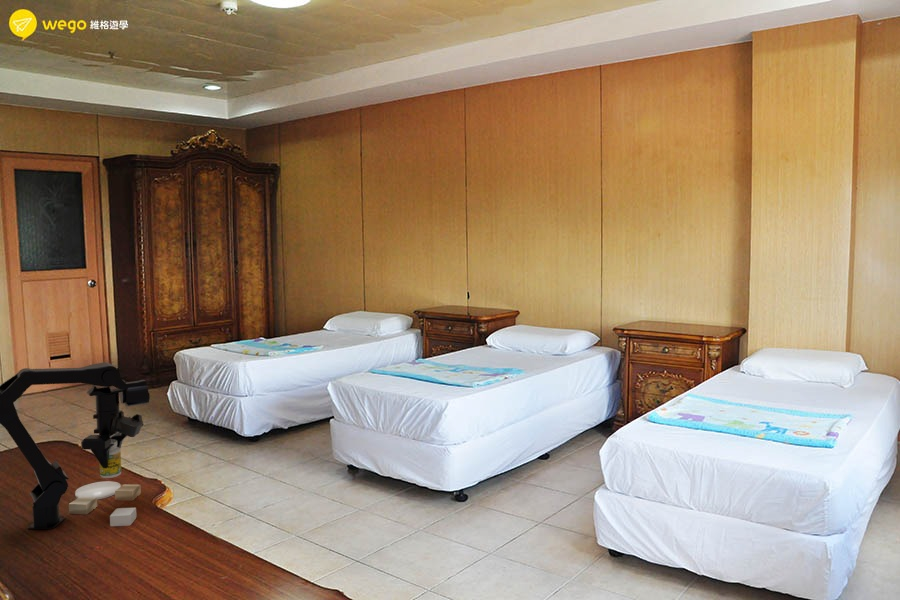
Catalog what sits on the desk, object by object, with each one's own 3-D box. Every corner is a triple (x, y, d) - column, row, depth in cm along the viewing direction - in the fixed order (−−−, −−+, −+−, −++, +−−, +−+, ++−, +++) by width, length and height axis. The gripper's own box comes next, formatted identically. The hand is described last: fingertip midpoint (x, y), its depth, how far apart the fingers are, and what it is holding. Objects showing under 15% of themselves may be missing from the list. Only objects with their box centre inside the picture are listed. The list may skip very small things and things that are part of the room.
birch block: (86, 515, 184) (86, 504, 184) (69, 514, 185) (68, 504, 184) (97, 507, 189) (96, 497, 189) (80, 507, 190) (79, 496, 189)
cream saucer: (109, 500, 194) (109, 496, 194) (67, 500, 194) (66, 496, 193) (127, 484, 206) (127, 481, 206) (87, 484, 205) (87, 481, 205)
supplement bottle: (117, 470, 190) (116, 437, 189) (124, 475, 186) (122, 441, 185) (97, 474, 187) (95, 441, 186) (103, 480, 183) (101, 445, 182)
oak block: (132, 501, 194) (132, 491, 194) (115, 500, 194) (115, 490, 194) (140, 494, 199) (140, 484, 199) (124, 494, 199) (123, 484, 199)
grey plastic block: (130, 526, 178) (130, 515, 177) (110, 527, 177) (109, 516, 177) (136, 518, 183) (136, 507, 182) (116, 519, 182) (116, 508, 182)
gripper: (122, 418, 176) (124, 476, 177) (151, 400, 194) (153, 453, 196) (78, 418, 175) (81, 476, 177) (112, 400, 194) (114, 453, 195)
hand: (110, 464), depth 186 cm, fingers closed on supplement bottle, 5 cm apart
